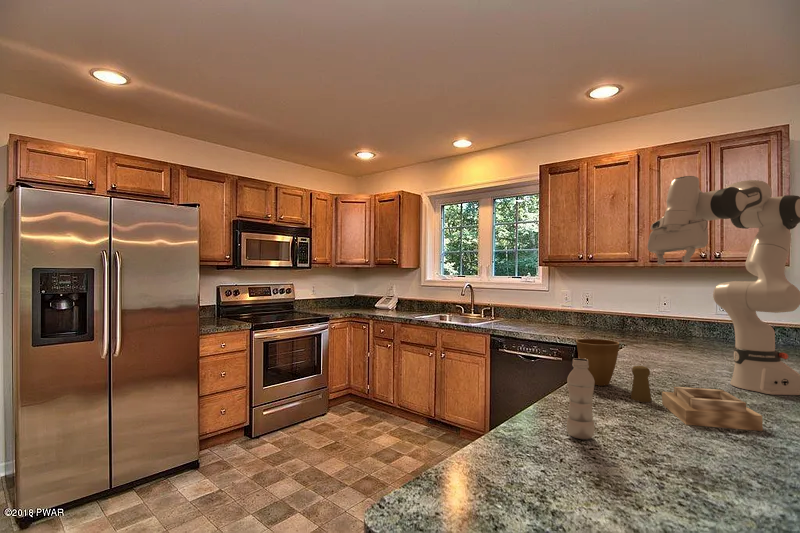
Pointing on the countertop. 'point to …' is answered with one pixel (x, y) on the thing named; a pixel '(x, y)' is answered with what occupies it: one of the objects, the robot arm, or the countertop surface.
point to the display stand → (711, 409)
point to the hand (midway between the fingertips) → (673, 263)
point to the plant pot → (599, 358)
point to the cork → (641, 384)
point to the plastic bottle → (580, 400)
